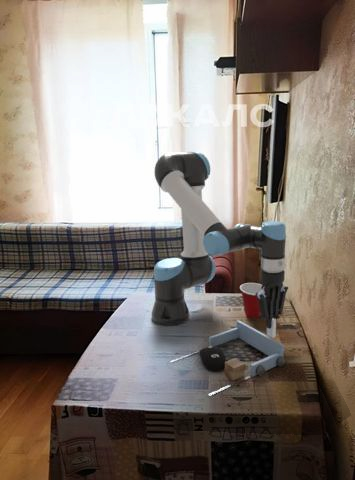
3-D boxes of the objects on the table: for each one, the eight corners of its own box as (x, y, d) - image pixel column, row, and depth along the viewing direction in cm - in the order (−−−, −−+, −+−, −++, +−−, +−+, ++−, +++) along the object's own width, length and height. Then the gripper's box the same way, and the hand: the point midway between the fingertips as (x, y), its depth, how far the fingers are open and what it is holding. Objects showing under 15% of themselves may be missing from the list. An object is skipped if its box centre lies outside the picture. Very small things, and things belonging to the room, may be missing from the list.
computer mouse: (206, 374, 111) (206, 362, 110) (197, 353, 123) (197, 342, 122) (230, 371, 112) (230, 359, 111) (219, 351, 124) (219, 340, 123)
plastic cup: (252, 324, 141) (252, 294, 139) (233, 314, 150) (234, 286, 148) (272, 316, 147) (273, 288, 144) (253, 307, 156) (254, 280, 153)
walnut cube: (224, 373, 111) (224, 362, 110) (235, 369, 113) (235, 357, 112) (233, 380, 107) (233, 368, 107) (244, 375, 109) (244, 363, 109)
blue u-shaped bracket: (207, 344, 127) (207, 329, 125) (236, 334, 133) (236, 319, 132) (255, 378, 108) (255, 360, 106) (286, 364, 114) (287, 346, 113)
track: (169, 361, 118) (169, 361, 118) (240, 335, 133) (240, 335, 133) (209, 396, 101) (209, 396, 101) (285, 362, 116) (285, 361, 116)
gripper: (266, 276, 114) (265, 346, 119) (295, 268, 120) (293, 334, 126) (249, 270, 120) (249, 336, 125) (278, 263, 127) (276, 326, 132)
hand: (271, 335), depth 125 cm, fingers closed
